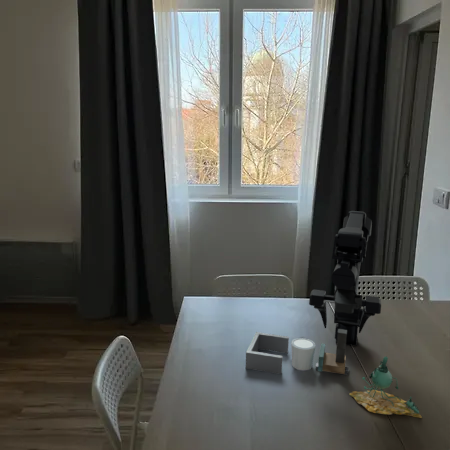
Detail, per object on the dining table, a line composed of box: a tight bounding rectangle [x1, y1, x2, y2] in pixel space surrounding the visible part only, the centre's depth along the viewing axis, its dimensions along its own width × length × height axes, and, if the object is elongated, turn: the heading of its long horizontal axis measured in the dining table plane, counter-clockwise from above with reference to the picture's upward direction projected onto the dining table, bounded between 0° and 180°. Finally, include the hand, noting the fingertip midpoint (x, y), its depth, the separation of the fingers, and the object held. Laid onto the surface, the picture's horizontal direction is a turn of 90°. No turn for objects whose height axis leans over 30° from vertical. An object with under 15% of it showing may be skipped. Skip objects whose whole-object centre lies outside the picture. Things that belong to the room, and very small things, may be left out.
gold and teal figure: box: [349, 356, 423, 419], centre depth 115 cm, size 10×18×15 cm, turn 48°
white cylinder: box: [290, 337, 316, 371], centre depth 134 cm, size 7×7×7 cm
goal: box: [245, 331, 290, 375], centre depth 137 cm, size 10×13×5 cm
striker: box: [317, 329, 347, 375], centre depth 131 cm, size 7×8×11 cm
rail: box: [315, 361, 349, 376], centre depth 132 cm, size 9×2×1 cm, turn 74°
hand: (342, 330), depth 129 cm, fingers open, 9 cm apart
